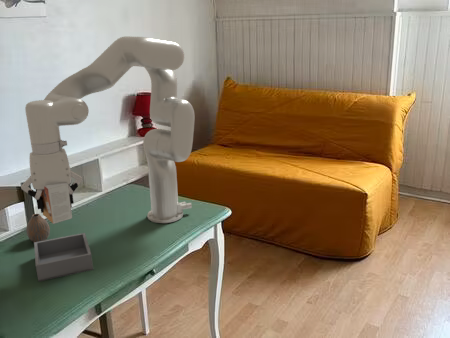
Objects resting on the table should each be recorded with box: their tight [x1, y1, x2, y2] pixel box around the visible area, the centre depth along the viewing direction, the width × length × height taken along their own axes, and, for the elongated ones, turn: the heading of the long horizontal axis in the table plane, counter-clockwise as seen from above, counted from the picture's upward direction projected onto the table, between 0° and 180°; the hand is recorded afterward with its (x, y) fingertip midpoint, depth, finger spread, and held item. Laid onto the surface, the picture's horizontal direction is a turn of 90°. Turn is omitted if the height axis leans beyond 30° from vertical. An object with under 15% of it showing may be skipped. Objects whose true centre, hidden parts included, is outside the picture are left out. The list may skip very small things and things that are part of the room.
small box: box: [41, 183, 73, 225], centre depth 128 cm, size 8×6×10 cm
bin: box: [33, 232, 94, 283], centre depth 134 cm, size 15×15×5 cm
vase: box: [26, 213, 51, 243], centre depth 147 cm, size 7×7×9 cm
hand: (56, 208), depth 129 cm, fingers closed on small box, 6 cm apart
